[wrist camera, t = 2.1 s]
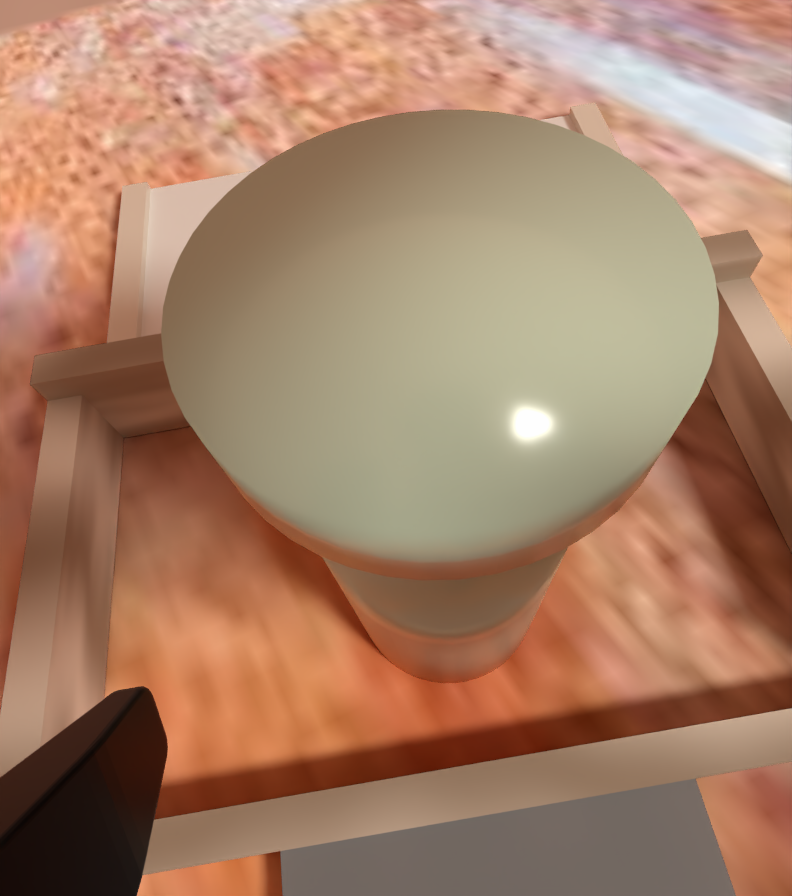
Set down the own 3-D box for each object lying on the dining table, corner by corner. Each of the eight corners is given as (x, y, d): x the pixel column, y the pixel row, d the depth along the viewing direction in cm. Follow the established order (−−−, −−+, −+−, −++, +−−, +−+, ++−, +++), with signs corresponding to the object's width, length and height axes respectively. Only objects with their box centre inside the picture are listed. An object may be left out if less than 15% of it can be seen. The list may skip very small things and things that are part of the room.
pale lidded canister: (504, 743, 17) (618, 655, 5) (307, 641, 19) (48, 398, 7) (578, 542, 20) (772, 169, 8) (398, 469, 22) (326, 75, 10)
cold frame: (928, 735, 17) (1054, 723, 13) (46, 890, 17) (-63, 918, 13) (704, 310, 24) (747, 229, 21) (95, 417, 24) (34, 355, 21)
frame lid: (683, 304, 24) (691, 286, 23) (114, 404, 24) (101, 390, 23) (591, 122, 30) (595, 102, 29) (132, 203, 30) (122, 186, 29)
